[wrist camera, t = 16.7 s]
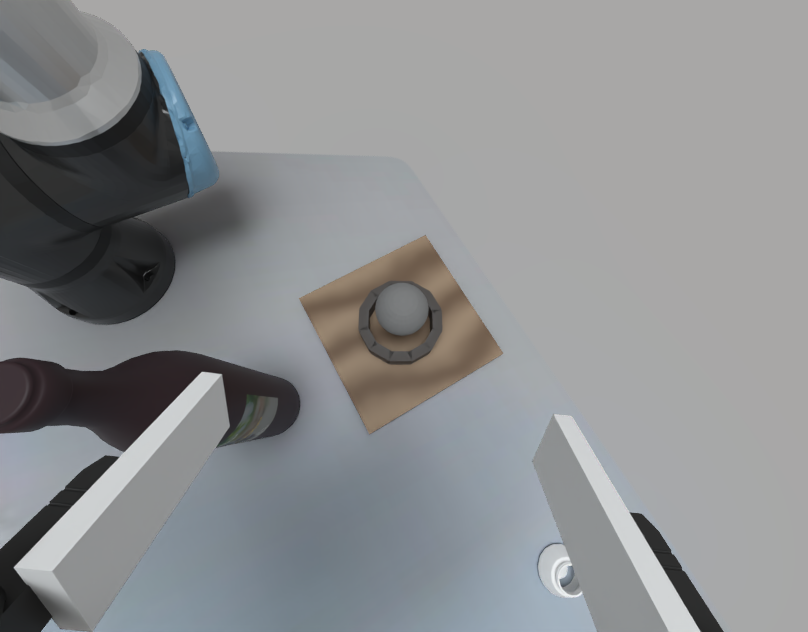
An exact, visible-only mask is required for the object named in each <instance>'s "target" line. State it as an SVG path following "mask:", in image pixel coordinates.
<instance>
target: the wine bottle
mask: <svg viewBox="0 0 808 632" xmlns="http://www.w3.org/2000/svg"><path fill="white" fill-rule="evenodd" d="M201 372H208V373H216V374H222V378H223V385H224V391H225V398H226V404H227V411H228V418H229V424H230V427H229V428H228V430H227V431H226V433H225V434H224V436H223V437H222V439H221V440H220V442H219V443H218V445H217V446H216V448H217V447H222V446H227V445H231V444H236V443H241V442H246V441H251V440H256V439H261V438H265V437H270V436H274V435H278V434H280V433H282V432H284V431H285V430H286V429H288V428H289V427H290V426H291V425H292V423H293V422H294V420H295V419H296V417H297V415H298V412H299V407H300V401H299V396H298V393H297V391H296V389H295V388H294V386H293V385H292V384H291V383H289V382H288V381H286V380H284V379H281V378H278V377H275V376H272V375H268V374H265V373H262V372H258V371H255V370H251V369H248V368H245V367H241V366H238V365H235V364H231V363H228V362H225V361H221V360H218V359H215V358H211V357H208V356H205V355H201V354H197V353H192V352H186V351H177V350H176V351H159V352H151V353H148V354H144V355H141V356H138V357H134V358H131V359H129V360H127V361H124V362H122V363H120V364H118V365H116V366H114V367H112V368H109V369H106V370H104V371H78V370H70V369H65V368H64V367H62V366H61V365H59V364H57V363H54V362H48V361H41V360H35V359H28V358H13V359H9V360H5V361H2V362H0V434H1V433H19V432H31V431H35V430H38V429H41V428H43V427H45V426H58V425H71V426H80V427H86V428H88V429H90V430H91V431H93V432H94V433H95V434H97V435H98V436H99V437H100V438H101V439H102V440H103V441H105V442H106V443H108V444H109V445H111V446H113V447H115V448H117V449H119V450H120V451H123V452H125V451H126V450H127V449H128V448H129V447H130V446H131V445H132V444H133V443H134V442H135V441H136V440H137V439H138V438H139V437H140V436H141V435H142V433H143V432H144V431H145V430H146V429H147V428H148V427H149V426H150V425H151V424H152V423H153V422H154V421H155V420H156V419H157V418H158V417H159V416H160V415H161V414H162V413H163V412H164V411H165V410H166V409H167V408H168V406H169V405H170V404H171V403H172V402H173V401H174V400H175V399H176V398H177V397H178V396H179V395H180V394H181V393H182V392H183V391H184V390H185V389H186V388H187V387H188V386H189V385H190V384H191V383H192V382H193V380H194V379H195V378H196V377H197V376H198V375H199V374H200V373H201Z"/></svg>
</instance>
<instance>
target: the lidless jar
mask: <svg viewBox="0 0 808 632" xmlns="http://www.w3.org/2000/svg"><path fill="white" fill-rule="evenodd" d="M567 566H572V564H571V561H570V559H569V556H568V553H567V551H566V548H565V545H563V544H552V545H550V546H548V547H547V548H545V549H544V551H543V552H542V554H541V555H540V558H539V563H538V570H539V576H540V578H541V581H542V583H543V585H544V586H545V587H546V588H547V589H548V590H549V591H550V592H551V593H552V594H553V595H556V596H558V597H560V598H566V597H572V598H574V597H578V596H580V595H581V594H582V590H581V587H580V585H579V582H578V580H577V577H576V574H575V572H574V577H573V580H572V581H571V583H570V584H568V585H567V586H565V587H561V585H560V579H561V578H564V577H565V576H566V574H567V570H568V569H567Z"/></svg>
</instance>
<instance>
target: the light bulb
mask: <svg viewBox="0 0 808 632" xmlns="http://www.w3.org/2000/svg"><path fill="white" fill-rule="evenodd" d="M428 311H429V308H428V302H427V299H426V297H425V295H424V294H423V293H422V291H421V290H419V289H418V288H417V287H415V286H414V285H411V284H408V283H396V284H393V285H390V286H388V287H387V288H385V289H384V290H383V291H382V292H381V293H380V295H379V297H378V298H377V301H376V306H375V312H376V317H377V319H378V322H379V323H380V325H381V326H382V327H383V328H384V329H385V330H386V331H388V332H389V333H391V334H394V335H399V336H405V335H410V334H412V333H415V332H416V331H418V330H419V329H420V328H421V327H422V326H423V325H424V323H425V321H426V319H427V316H428Z"/></svg>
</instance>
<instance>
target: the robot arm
mask: <svg viewBox="0 0 808 632" xmlns="http://www.w3.org/2000/svg"><path fill="white" fill-rule="evenodd" d="M218 177H219V170H218V167H217V164H216V162H215V160H214V158H213V155H212V153H211V151H210V149H209V147H208V145H207V143H206V141H205V138H204V136H203V134H202V132H201V130H200V128H199V126H198V124H197V122H196V120H195V118H194V116H193V113H192V112H191V109H190V107H189V105H188V103H187V101H186V99H185V97H184V95H183V93H182V91H181V89H180V87H179V85H178V83H177V81H176V79H175V77H174V75H173V73H172V71H171V69H170V67H169V65H168V63H167V61H166V60H165V57H164V56H163V55H162V54H161V53H160V52H158V51H155V50H151V51H148V50H146V49H143V50H141V51H139V53H137V51H136V50H135V49H134V47H133V46H132V44H131V43H130V42H129V41H128V39H127V38H126V37H125V36H124V35H123V34H122V33H121V32H120V31H119V30H118V29H117V28H116V27H114V26H113V25H112V24H110V23H108V22H107V21H105V20H103V19H101V18H99V17H97V16H94V15H91V14H88V13H85V12H81V11H79V10H78V9H77V8H76V7H75V5H74V4H73V3H72V1H71V0H0V278H3V279H6V280H9V281H12V282H15V283H18V284H21V285H24V286H27V287H29V288H30V289H31V290H33V291H34V292H35V293H36V294H38V295H39V296H40V297H42V298H43V299H44V300H46V301H47V302H48V303H50V304H51V305H52V306H53V307H55V308H56V309H57V310H59V311H60V312H62V313H64V314H66V315H68V316H70V317H73V318H76V319H79V320H82V321H86V322H89V323H94V324H115V323H120V322H124V321H127V320H130V319H132V318H134V317H136V316H138V315H140V314H142V313H144V312H145V311H147V310H148V309H149V308H151V307H152V306H153V305H154V304H155V303H156V302H157V301H158V300H159V299H160V298H161V297H162V296H163V294H164V293H165V291H166V290H167V288H168V286H169V284H170V282H171V280H172V277H173V273H174V267H175V259H174V253H173V250H172V247H171V245H170V244H169V242H168V241H167V239H166V238H165V237H164V236H163V235H162V234H161V233H159V232H158V231H157V230H156V229H154V228H153V227H152V226H150V225H149V224H147V223H145V222H144V221H142V220H139V219H137V218H134V217H135V216H138V215H140V214H143V213H146V212H149V211H152V210H154V209H157V208H160V207H163V206H165V205H168V204H171V203H174V202H177V201H179V200H182V199H185V198H190V197H192V196H193V195H194V194H195V193H197V192H199V191H201V190H203V189H206V188H208V187H210V186H212V185H214V184H215V183H216V182H217V180H218ZM229 427H230V424H229V418H228V411H227V404H226V398H225V391H224V385H223V378H222V374H216V373H208V372H201V373H200V374H199V375H198V376H197V377H196V378H195V379H194V380H193V382H192V383H191V384H190V385H189V386H188V387H187V388H186V389H185V390H184V391H183V392H182V393H181V394H180V395H179V396H178V397H177V398H176V399H175V400H174V401H173V402H172V403H171V404H170V405H169V406H168V408H167V409H166V410H165V411H164V412H163V413H162V414H161V415H160V416H159V417H158V418H157V419H156V420H155V421H154V422H153V423H152V424H151V425H150V426H149V427H148V428H147V429H146V430H145V431H144V432H143V433H142V435H141V436H140V437H139V438H138V439H137V440H136V441H135V442H134V443H133V444H132V445H131V446H130V447H129V448H128V449H127V450H126V451H125V452H124V453H123V454H122V455H121V456H120V457H115V456H104V457H102V458H101V459H99V460H98V461H96V462H94V463H93V464H91V465H90V466H88V467H87V468H85V469H83V470H82V471H81V472H80V473H79V474H78V475H77V476H76V477H75V478H74V479H73V480H72V481H71V482H70V483H69V484H68V485H67V486H66V487H65V489H64V490H63V491H62V490H61V491H60V492H59V493H58V494H57V495H56V496H55V497H54V498H53V499H52V500H51V501H50V504H49V505H48V506H47V505H46V506H45V507H44V508H43V509H42V510H41V511H40V512H39V513H38V514H37V515H36V516H34V517H33V518H32V519H31V520H30V521H29V522H28V523H27V524H26V525H25V526H24V527H23V528H22V529H21V530H20V531H19V532H18V533H17V534H16V535H15V536H14V537H13V538H12V539H11V540H10V541H8V542H7V543H6V544H5V545H4V546H3V547H2V548H1V549H0V632H41V631H42V629H43V628H44V627H45V625H46V624H47V623H48V622H49V620H50V619H51V618H52V619H53V620H54V622H55V623H56V624H57V626H58V627H59V628H60V629H68V630H78V631H89V632H93V630H94V629H95V627H96V626H97V624H98V623H99V621H100V620H101V618H102V617H103V615H104V614H105V612H106V611H107V609H108V608H109V606H110V605H111V603H112V602H113V600H114V599H115V597H116V596H117V594H118V593H119V591H120V590H121V588H122V587H123V585H124V584H125V582H126V581H127V579H128V578H129V576H130V575H131V573H132V572H133V570H134V569H135V567H136V566H137V564H138V563H139V561H140V560H141V558H142V557H143V555H144V554H145V552H146V551H147V549H148V548H149V546H150V545H151V543H152V542H153V540H154V539H155V537H156V536H157V534H158V533H159V531H160V530H161V529H162V527H163V526H164V524H165V523H166V521H167V520H168V518H169V517H170V515H171V514H172V512H173V511H174V509H175V508H176V506H177V505H178V503H179V502H180V500H181V499H182V497H183V496H184V494H185V493H186V491H187V490H188V488H189V487H190V485H191V484H192V482H193V481H194V479H195V478H196V476H197V475H198V473H199V472H200V470H201V469H202V467H203V466H204V464H205V463H206V461H207V460H208V458H209V457H210V455H211V454H212V452H213V451H214V449H215V448H216V446H217V445H218V443H219V442H220V440H221V439H222V437H223V436H224V434H225V433H226V431H227V430H228V428H229ZM532 462H533V464H534V467H535V470H536V472H537V475H538V477H539V480H540V483H541V485H542V488H543V491H544V493H545V496H546V498H547V501H548V504H549V506H550V509H551V511H552V514H553V517H554V519H555V522H556V525H557V527H558V530H559V532H560V535H561V538H562V540H563V543H564V545H565V548H566V551H567V553H568V556H569V559H570V561H571V564H572V566H573V569H574V572H575V574H576V577H577V580H578V582H579V585H580V587H581V590H582V593H583V595H584V598H585V600H586V603H587V606H588V608H589V611H590V614H591V616H592V619H593V621H594V624H595V627H596V629H597V632H723V630H722V629H721V627H720V625H719V624H718V622H717V621H716V619H715V618H714V616H713V615H712V613H711V612H710V610H709V608H708V607H707V605H706V604H705V602H704V601H703V599H702V598H701V596H700V594H699V593H698V591H697V590H696V588H695V587H694V585H693V584H692V582H691V580H690V579H689V577H688V576H687V574H686V573H685V571H683V570H682V567H681V565H680V563H679V562H678V560H677V559H676V557H675V556H674V555H672V553H671V549H670V548H669V546H668V545H667V543H666V542H665V540H664V539H663V537H662V536H661V534H660V532H659V531H658V530H657V529H656V528H655V527H654V526H653V525H652V524H651V523H650V522H649V521H648V520H647V519H646V518H645V517H644V516H643V515H642V514H639V513H630V512H629V511H628V509H627V508H626V506H625V504H624V503H623V501H622V499H621V498H620V496H619V494H618V493H617V491H616V489H615V488H614V486H613V484H612V482H611V481H610V479H609V477H608V476H607V474H606V472H605V471H604V469H603V467H602V466H601V464H600V462H599V461H598V459H597V457H596V456H595V454H594V452H593V451H592V449H591V447H590V446H589V444H588V442H587V441H586V439H585V437H584V436H583V434H582V432H581V431H580V429H579V427H578V426H577V424H576V422H575V420H574V419H573V417H572V416H566V415H558V414H553V416H552V418H551V420H550V423H549V425H548V427H547V429H546V432H545V434H544V436H543V438H542V440H541V443H540V445H539V447H538V449H537V452H536V454H535V456H534V458H533V461H532Z"/></svg>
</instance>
